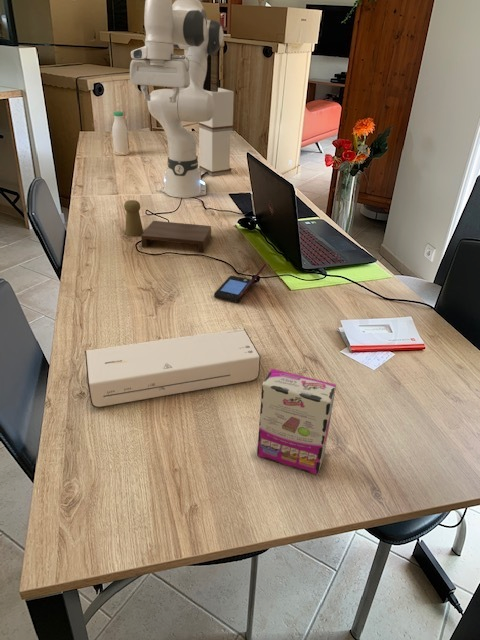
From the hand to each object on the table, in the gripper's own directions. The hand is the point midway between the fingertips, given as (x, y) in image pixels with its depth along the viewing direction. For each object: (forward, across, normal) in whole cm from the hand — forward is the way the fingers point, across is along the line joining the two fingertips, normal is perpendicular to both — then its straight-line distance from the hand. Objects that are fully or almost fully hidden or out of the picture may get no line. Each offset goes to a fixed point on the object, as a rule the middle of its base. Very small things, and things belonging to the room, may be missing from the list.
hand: (160, 101), depth 160 cm
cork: (+41, +2, +15) cm, 43 cm away
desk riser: (+41, -14, +15) cm, 46 cm away
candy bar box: (+51, -74, +88) cm, 126 cm away
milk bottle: (+30, +62, -70) cm, 98 cm away
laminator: (+49, -45, +76) cm, 101 cm away
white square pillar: (+32, +7, -65) cm, 72 cm away
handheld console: (+45, -45, +38) cm, 74 cm away
